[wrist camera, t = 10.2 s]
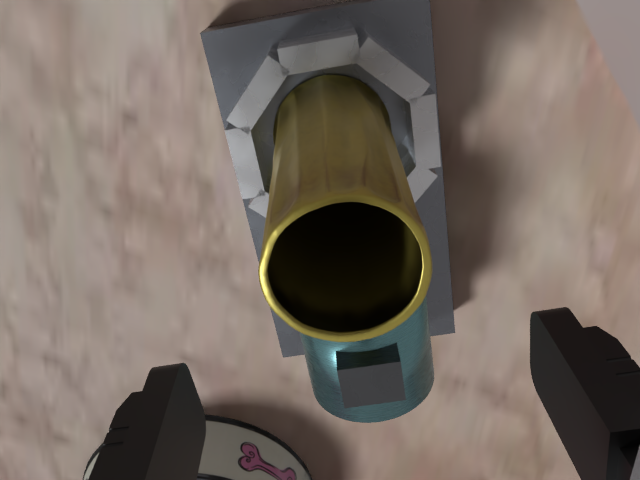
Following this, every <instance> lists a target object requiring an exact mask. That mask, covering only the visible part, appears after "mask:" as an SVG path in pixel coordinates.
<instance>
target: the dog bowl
mask: <svg viewBox="0 0 640 480" xmlns="http://www.w3.org/2000/svg"><path fill="white" fill-rule="evenodd" d="M205 420H206V437H205V442H204V447H203V451H202V456H201V461H200V466H199V471H198V475H197V480H312V478H311V475H310V473H309V471H308V469H307V467H306V466H305V464H304V463H303V461H302V460H301V459H300V458H299V457H298V455H297V454H296V453H295V452H294V451H293V450H292V449H291V448H290V447H289V446H288V445H286V444H285V443H284V442H282V441H281V440H280V439H278V438H277V437H275V436H274V435H272V434H270V433H269V432H267V431H264V430H262V429H260V428H258V427H256V426H253V425H250V424H247V423H244V422H241V421H238V420H234V419H230V418H225V417H219V416H212V415H205ZM101 448H103V444H102V445H101V446H100V447H99V448H98V449H97V450H96V451H95V452H94V454H93V455H92V457H91V458H90V460H89V462H88V464H87V466H86V470H85V472H84V476H83V480H88V479H89V476H90V474H91V471H92V469H93V467H94V464H95V462H96V459H97V457H98V454H99V452H100V449H101Z"/></svg>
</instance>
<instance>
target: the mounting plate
mask: <svg viewBox="0 0 640 480" xmlns="http://www.w3.org/2000/svg"><path fill="white" fill-rule="evenodd" d="M200 34H201V38H202V42H203V46H204V50H205V54H206V58H207V62H208V65H209V69H210V73H211V77H212V81H213V85H214V89H215V93H216V97H217V101H218V105H219V108H220V112H221V116H222V120H223V124H224V128H225V134H226V138H227V141H228V145H229V149H230V153H231V157H232V161H233V165H234V169H235V173H236V177H237V180H238V184H239V188H240V192H241V196H242V199H243V202H244V206H245V210H246V214H247V218H248V222H249V226H250V230H251V233H252V237H253V241H254V245H255V249H256V253H257V257H258V261H259V262H260V257H261V250H262V243H263V235H264V228H265V221H266V214H267V208H268V202H269V190H270V184H271V178H272V170H273V155H274V146H275V145H274V141H273V128H274V121H275V116H276V114H277V111H278V108H279V107H280V105H281V103H282V102H283V100H284V99H285V98H286V96H287V95H288V94H289V93H290V92H291V91H292V90H293V89H295V88H296V87H297V86H299V85H300V84H302V83H304V82H306V81H308V80H310V79H313V78H315V77H318V76H323V75H341V76H347V77H351V78H354V79H356V80H358V81H361V82H362V83H364V84H366V85H367V86H368V87H370V88H371V89H372V90H373V91H374V92H375V93H376V94H377V95H378V96H379V97H380V98H381V100H382V101H383V103H384V105H385V107H386V109H387V111H388V114H389V117H390V122H391V130H392V134H393V137H394V139H395V143H396V147H397V151H398V154H399V156H400V159H401V162H402V165H403V168H404V171H405V174H406V177H407V180H408V184H409V187H410V190H411V193H412V196H413V199H414V203H415V206H416V209H417V211H418V214H419V216H420V219H421V221H422V224H423V226H424V228H425V231H426V234H427V237H428V241H429V246H430V251H431V257H432V277H431V281H430V285H429V288H428V291H427V294H426V296H425V298H424V300H423V302H422V303H421V305H420V306H419V307H418V309H417V310H416V311H415V312H414V313H413V314H412V315H411V316H410V317H409V318H408V319H407V320H406V321H404V322H403V323H402V324H400V325H399V326H397V327H396V328H394V329H393V330H391V331H389V332H387V333H385V334H383V335H380V336H377V337H374V338H371V339H366V340H361V341H356V342H334V341H328V340H322V339H318V338H314V337H311V336H308V335H305V334H303V333H301V332H299V331H297V330H295V329H294V328H292V327H291V326H289V325H288V324H287V323H286V322H285V321H284V320H282V319H281V318H280V317H279V316H278V315H277V314H276V313H275V312H274V311H273V310H272V309H271V312H272V316H273V319H274V323H275V327H276V331H277V335H278V339H279V343H280V347H281V351H282V355H283V357H290V356H297V355H304V354H305V358H306V362H307V367H308V371H309V375H310V379H311V384H312V388H313V392H314V395H315V397H316V399H317V401H318V402H319V404H320V405H321V406H322V407H323V408H324V409H325V410H326V411H328V412H329V413H331V414H333V415H335V416H337V417H339V418H342V419H345V420H349V421H353V422H365V423H371V422H380V421H386V420H390V419H393V418H396V417H399V416H401V415H404V414H406V413H407V412H409V411H411V410H412V409H414V408H415V407H417V406H418V405H419V404H420V403H421V402H422V401H423V400H424V399H425V398H426V397H427V395H428V394H429V392H430V390H431V388H432V385H433V381H434V368H433V358H432V348H431V338H430V336H436V335H443V334H450V333H455V326H454V313H453V300H452V287H451V274H450V260H449V247H448V234H447V221H446V208H445V195H444V181H443V168H442V155H441V142H440V129H439V115H438V102H437V89H436V76H435V63H434V50H433V36H432V23H431V10H430V0H353V1H348V2H342V3H337V4H332V5H326V6H321V7H316V8H310V9H305V10H300V11H294V12H289V13H284V14H278V15H273V16H267V17H262V18H257V19H251V20H246V21H241V22H235V23H230V24H225V25H219V26H214V27H208V28H206V29H205V30H204V31H202V32H201V33H200ZM270 308H271V307H270Z"/></svg>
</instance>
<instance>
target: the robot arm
mask: <svg viewBox="0 0 640 480" xmlns="http://www.w3.org/2000/svg"><path fill="white" fill-rule="evenodd" d="M530 368H531V375H532V379H533V383H534V386H535V389H536V391H537V393H538V395H539V397H540V399H541V401H542V403H543V405H544V407H545V409H546V411H547V413H548V415H549V417H550V419H551V421H552V423H553V425H554V427H555V429H556V431H557V433H558V435H559V437H560V439H561V441H562V443H563V445H564V447H565V449H566V451H567V452H568V454H569V456H570V458H571V460H572V462H573V464H574V466H575V468H576V470H577V472H578V474H579V476H580V478H581V480H640V368H639V366H638V365H637V364H636V362H635V361H634V360H632V359H631V356H630V355H629V353H628V352H627V351H626V350H625V348H624V347H623V346H622V344H621V343H620V342H619V341H618V339H616V338H615V337H613V336H612V335H610V334H608V333H607V332H605V331H604V330H602V329H600V328H599V327H597V326H593V327H586V328H583V327H582V326H581V324H580V323H579V322H578V320H577V319H576V317H575V316H574V315H573V313H572V312H571V311H570V309H569V308H567V307H563V308H556V309H550V310H543V311H536V312H532V314H531V318H530ZM205 437H206V420H205V414H204V410H203V407H202V404H201V401H200V399H199V396H198V393H197V390H196V388H195V385H194V382H193V379H192V377H191V374H190V371H189V369H188V367H187V365H186V364H185V363H180V364H173V365H166V366H159V367H153V368H152V369H151V370H150V372H149V374H148V377H147V380H146V382H145V385H144V388H143V391H140V392H133V393H131V394H130V395H129V397H128V398H127V399H126V400H125V401H124V402H123V404H122V405H121V406H120V407H119V408H118V409H117V410H116V413H115V415H114V418H113V420H112V423H111V425H110V428H109V433H107V435H106V437H105V440H104V442H103V448H101V449H100V452H99V454H98V457H97V459H96V462H95V464H94V467H93V469H92V471H91V474H90V476H89V479H88V480H197V475H198V471H199V466H200V461H201V456H202V451H203V447H204V442H205Z"/></svg>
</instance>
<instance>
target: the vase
mask: <svg viewBox="0 0 640 480" xmlns="http://www.w3.org/2000/svg"><path fill="white" fill-rule="evenodd" d="M273 141H274V145H275V146H274V155H273V170H272V178H271V184H270V190H269V202H268V208H267V214H266V221H265V228H264V235H263V243H262V250H261V257H260V262H259V270H258V273H259V281H260V285H261V289H262V292H263V294H264V297H265V299H266V301H267V302H268V304H269V306H270V307H271V309H272V310H273V311H274V312H275V313H276V314H277V315H278V316H279V317H280V318H281V319H282V320H284V321H285V322H286V323H287V324H288V325H289V326H291V327H292V328H294V329H295V330H297V331H299V332H301V333H303V334H305V335H308V336H311V337H314V338H318V339H322V340H328V341H334V342H356V341H361V340H366V339H371V338H374V337H377V336H380V335H383V334H385V333H387V332H389V331H391V330H393V329H394V328H396V327H397V326H399V325H400V324H402V323H403V322H404V321H406V320H407V319H408V318H409V317H410V316H411V315H412V314H413V313H414V312H415V311H416V310H417V309H418V307H419V306H420V305H421V303H422V302H423V300H424V298H425V296H426V294H427V291H428V288H429V285H430V281H431V277H432V257H431V251H430V246H429V241H428V237H427V234H426V231H425V228H424V226H423V224H422V221H421V219H420V216H419V214H418V211H417V209H416V206H415V203H414V199H413V196H412V193H411V190H410V187H409V184H408V180H407V177H406V174H405V171H404V168H403V165H402V162H401V159H400V156H399V154H398V151H397V147H396V143H395V139H394V137H393V134H392V130H391V122H390V117H389V114H388V111H387V109H386V107H385V105H384V103H383V101H382V100H381V98H380V97H379V96H378V95H377V94H376V93H375V92H374V91H373V90H372V89H371V88H370V87H368V86H367V85H366V84H364V83H362V82H361V81H358V80H356V79H354V78H351V77H347V76H341V75H323V76H318V77H315V78H313V79H310V80H308V81H306V82H304V83H302V84H300V85H299V86H297V87H296V88H295V89H293V90H292V91H291V92H290V93H289V94H288V95H287V96H286V98H285V99H284V100H283V102H282V103H281V105H280V107H279V108H278V111H277V114H276V116H275V121H274V128H273Z"/></svg>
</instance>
